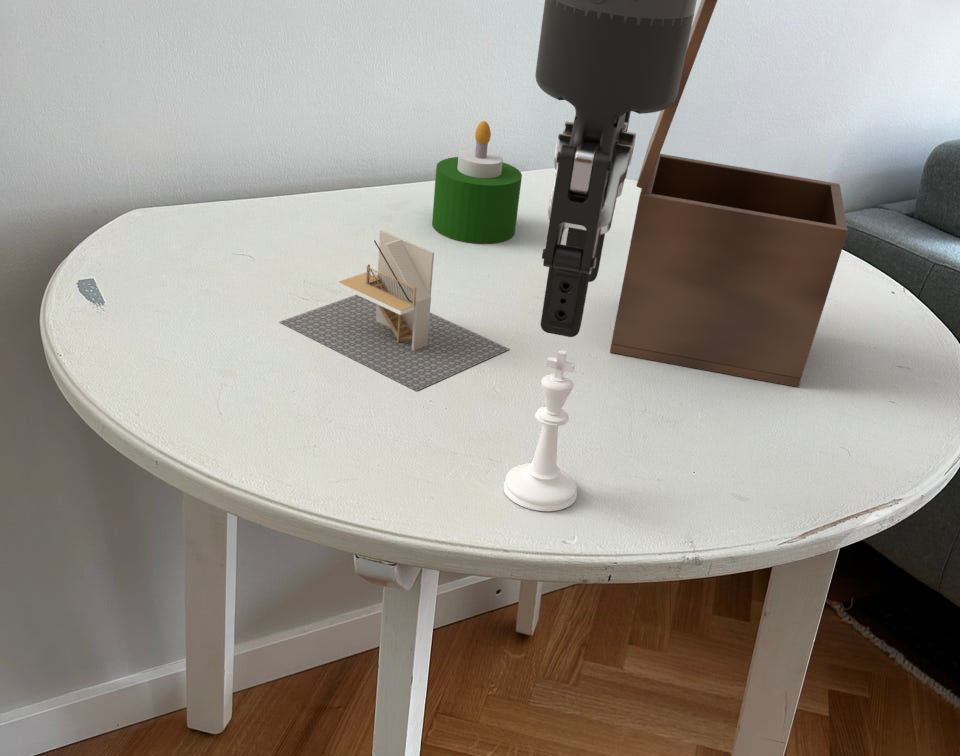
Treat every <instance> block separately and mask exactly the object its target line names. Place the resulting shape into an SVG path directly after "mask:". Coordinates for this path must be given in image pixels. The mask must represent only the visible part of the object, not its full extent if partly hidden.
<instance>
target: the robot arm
mask: <svg viewBox="0 0 960 756" xmlns="http://www.w3.org/2000/svg"><path fill="white" fill-rule="evenodd" d="M697 2H698V0H544V4H543V11H542V18H541V19H542V21H541V26H540V27H541V29H540V35H539V36H540V37H539V44H538V51H537V59H536V67H535V75H534V77H535V82H536V84H537V85H538V87H539V89H541V91H543V92H544V93H545V94H547V95H548V96H550V97H552V98H553V99H555V100H558V101H566V102H567V103H569V104H571V105H572V106H573V108H574V110H575V115H574V119H573V122H572V121H568V120H566V121H565V122H564V125H563V126H564V127H563V131H562V133H558V136H557V140H556V145H555V150H554V155H553V158H554V159H553V160H554V169H555V172H554V177H553V182H552V186H551V192H550V197H549V201H548V206H547V215H548V221H549V223H548V229H547V235H546V241H545V248H543V249H542V254H541V259H542V260H543V261H542V264H543V265H542V266H543V267H546V268H548V272H547V280H546V286H545V291H544V299H543V305H542V312H541V317H540V328H541V330H542V331H543V332H545V333H547V334H551V335H555V336H563V337H567V338H574V337H576V336H577V335H578V334H579V333H580V330H581V326H582V322H583V316H584V310H585V304H586V298H587V294H588V293H587V292H588V288H589V283H592V282H594V281H595V280H596V278H597V277H598V274H599V270H600V265H601V258H602V254H603V247H604V242H605V237H606V234H607V233H608V232H609V231H610V230H611V227H612V222H613V217H614V213H615V208H616V204H617V199H618V198H619V197H621V196H622V194H623V190H624V189H623V188H624V184H625V181H626V177H627V174H628V169H629V166H630V165H631V163H632V159H633V158H632V157H633V153H634V149H635V146H636V145H635V144H636V139H637V138H636V137H637V133H636V132H631V131H628V130H629V124H630V118H631V112H634V113H637V114H639V115H642V114H643V115H645V114H653V113H658V112H661V110H664V109H666V108H668V107H669V106H671V105H672V104H673V103H674V101H675V100H676V98H677V95H678V90H679V85H680V80H681V75H682V71H683V66H684V61H685V56H686V51H687V46H688V41H689V36H690V31H691V27H692V25H693V22H694V18H695V12H696V7H697ZM567 228H568V229H567ZM566 229H567V234H566V241H565V244H562V240H563V235H564V231H565V230H566Z"/></svg>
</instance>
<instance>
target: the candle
mask: <svg viewBox="0 0 960 756" xmlns="http://www.w3.org/2000/svg"><path fill="white" fill-rule="evenodd" d="M491 136H492V132H491V127H490V124H489V123H488V122H487V121H486V120H482V121H481V122H480V123H478V124H477V127H476V129H475V133H474V138H475V141H476V142H475V149H464V150H461V151H460V152H458V156H455V157H449V158H448V157H447V158H444V159H441V160H440V161H438V162H437V164H436V166H435V167H436V168H435V179H434V180H435V181H434V193H433V207H432V208H433V209H432V218H431V219H432V221H431V225H432V228H433V229H434V230H435V231H436V232H437V233H439V234H440V235H442V236H443V237H447V238H449V239H451V240H456V241H459V242H463V243H464V242H465V243H471V244H484V245H485V244H497V243H502V242H506V241H509V240H510V239H512V238H513V237H515V234H516V228H517V227H516V226H517V218H518V211H519V203H520V196H521V194H520V193H521V186H522V179H523V175H522V172H521V171H520V170H519V169H518V168H516V167H515V166H513V165H511V164H510V163H507V162H504V158H503V157H502V156H501V155H500V154H499V153H496V152H494V151H493V152H492V151H489V150H488V147H489V146H488V144H489V142H490V141H491Z"/></svg>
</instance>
